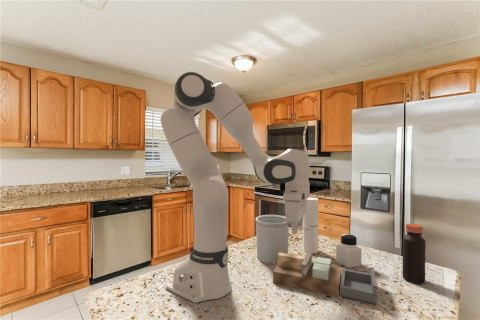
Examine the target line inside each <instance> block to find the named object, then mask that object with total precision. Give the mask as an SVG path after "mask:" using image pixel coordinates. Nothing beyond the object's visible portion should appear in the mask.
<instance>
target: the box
mask: <svg viewBox="0 0 480 320" xmlns="http://www.w3.org/2000/svg"><path fill="white" fill-rule="evenodd" d="M369 269H370V273H367V272H362V271H356V270H349V269H344V268H341V284H340V293H339V298H340V299H344V300H350V301H354V302H359V303H362V304H366V305H371V306H377V294H378V293H377V280H376V275H375V267H373V266H371V267H370V268H369Z"/></svg>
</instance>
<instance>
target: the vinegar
mask: <svg viewBox="0 0 480 320" xmlns="http://www.w3.org/2000/svg"><path fill="white" fill-rule="evenodd" d="M405 232H406V234H405V235H404V236H402V278H403V279H404V280H405V281H406V282H409V283H412V284H416V285H423V284H426V250H427V249H426V245H427V243H426V242H427V241H426V240H425V239H424V238H423V236H422V235H423V226H422V225H421V224H416V223H407V224H405Z"/></svg>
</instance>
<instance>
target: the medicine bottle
mask: <svg viewBox="0 0 480 320" xmlns="http://www.w3.org/2000/svg"><path fill="white" fill-rule="evenodd" d="M357 240H358V239H357V236H355V235H354V234H352V233H351V234H350V233H343V234H340V244H336V246H335V247H336V250H335V261H336V263H338V264H341V265H342V266H344V267H345V268H347V269H350V268H356V267H359V266H360V267H361V266H362V248H361V247H359V246H357V245H358V243H357Z"/></svg>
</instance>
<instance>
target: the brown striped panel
mask: <svg viewBox="0 0 480 320" xmlns="http://www.w3.org/2000/svg"><path fill="white" fill-rule="evenodd" d="M314 264H315V261H312V264H311V267H310V269H309V271H308V274H307V276H306V277H305V276H302V270H299V269H294V268H289V267H284V266H279V265H277V264H276V266H275V268H274V269H273V271H272V283H275V284H278V285H283V286H288V287H292V288H297V289H300V290H306V291H309V292H313V293H317V294H323V295H328V296H331V297H335V298H340V284H341V276H342V266H336V265H331V270H330V274H329V278H328V280H323V279H318V278H313V277H312V275H313V266H314Z"/></svg>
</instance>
